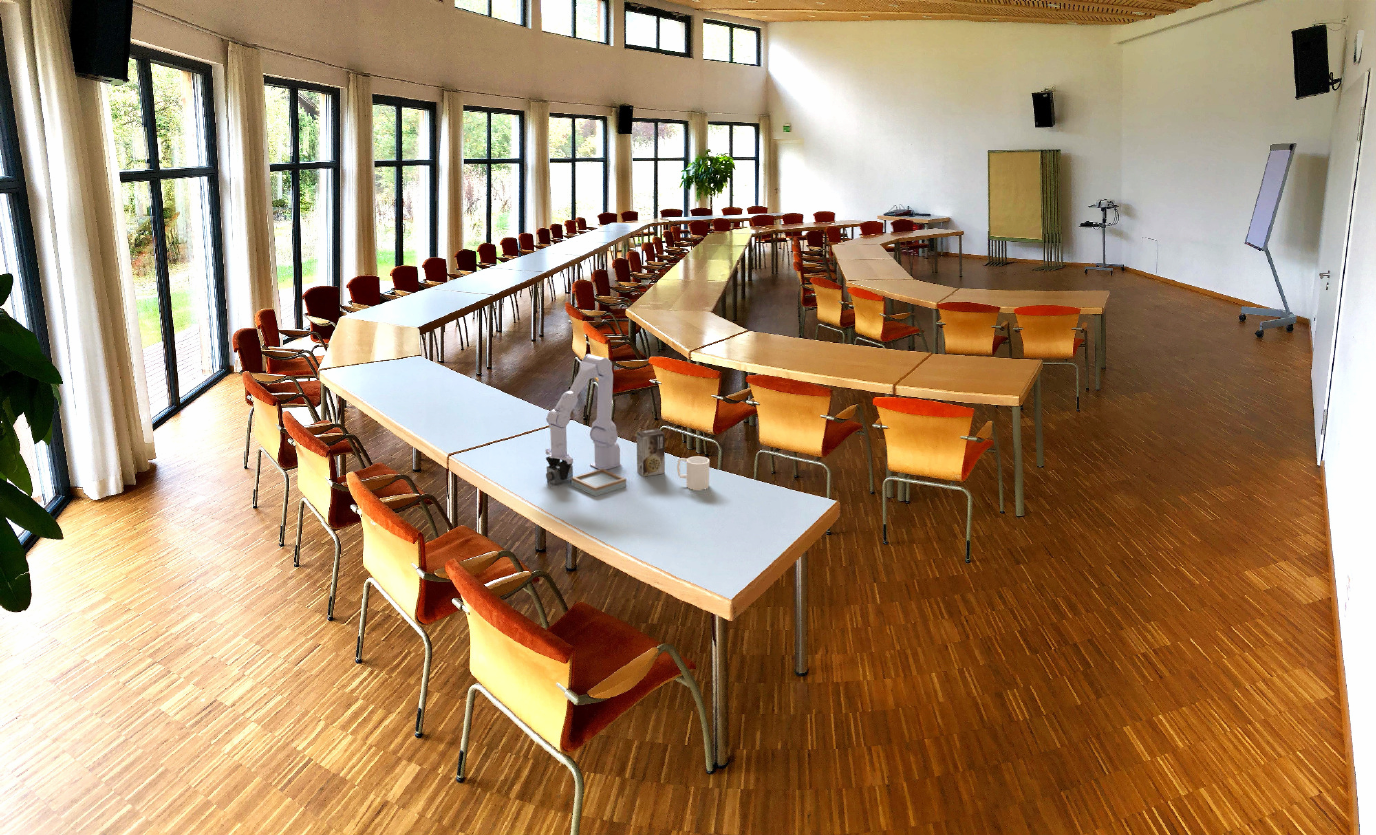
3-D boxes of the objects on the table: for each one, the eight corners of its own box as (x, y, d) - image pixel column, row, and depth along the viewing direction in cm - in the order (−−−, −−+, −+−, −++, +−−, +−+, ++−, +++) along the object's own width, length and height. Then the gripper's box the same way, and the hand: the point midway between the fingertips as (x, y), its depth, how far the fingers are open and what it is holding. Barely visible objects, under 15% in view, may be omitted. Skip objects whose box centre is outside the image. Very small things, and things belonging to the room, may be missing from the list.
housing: (565, 476, 327) (564, 461, 326) (573, 480, 324) (572, 465, 322) (544, 482, 322) (544, 467, 320) (552, 486, 318) (552, 471, 316)
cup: (680, 479, 326) (680, 454, 323) (711, 483, 323) (712, 457, 320) (673, 487, 319) (673, 461, 316) (705, 491, 315) (706, 465, 312)
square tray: (602, 476, 329) (602, 468, 328) (626, 486, 319) (626, 478, 318) (571, 485, 320) (571, 477, 319) (595, 496, 310) (595, 488, 309)
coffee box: (658, 468, 337) (658, 428, 333) (665, 473, 332) (665, 433, 327) (636, 471, 334) (636, 431, 329) (642, 477, 328) (642, 436, 323)
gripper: (538, 439, 321) (539, 474, 325) (561, 449, 311) (562, 485, 315) (554, 435, 326) (555, 469, 330) (577, 445, 315) (578, 480, 319)
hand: (559, 477), depth 323 cm, fingers closed on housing, 5 cm apart
